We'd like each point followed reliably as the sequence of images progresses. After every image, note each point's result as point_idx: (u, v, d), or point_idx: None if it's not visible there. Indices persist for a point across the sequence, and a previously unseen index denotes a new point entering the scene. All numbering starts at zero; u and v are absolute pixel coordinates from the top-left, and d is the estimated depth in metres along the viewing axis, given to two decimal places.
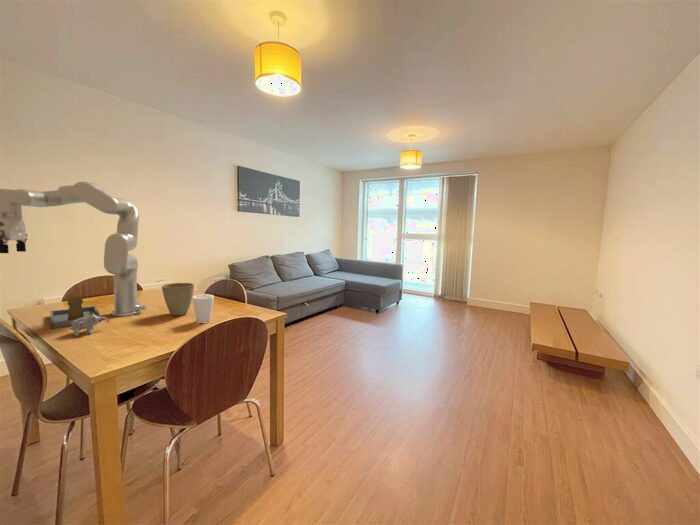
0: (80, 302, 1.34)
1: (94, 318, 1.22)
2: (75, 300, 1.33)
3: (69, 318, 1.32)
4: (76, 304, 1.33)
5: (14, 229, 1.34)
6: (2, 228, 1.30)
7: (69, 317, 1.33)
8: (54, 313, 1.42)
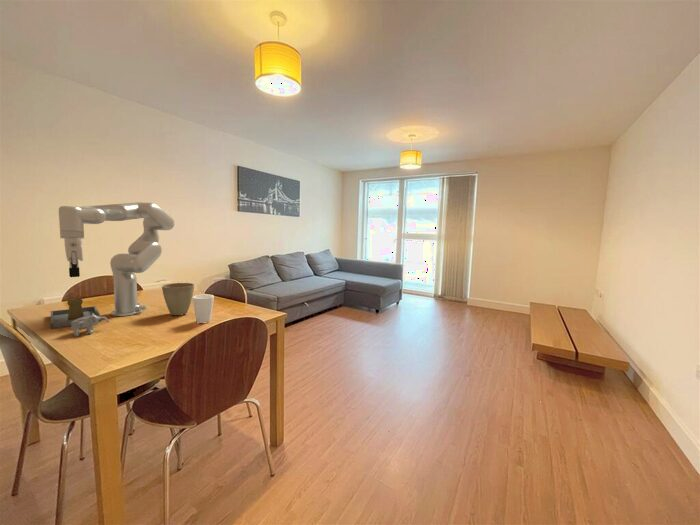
0: (80, 302, 1.34)
1: (94, 318, 1.22)
2: (75, 300, 1.33)
3: (69, 318, 1.32)
4: (76, 304, 1.33)
5: None
6: (74, 249, 1.22)
7: (69, 317, 1.33)
8: (54, 313, 1.42)
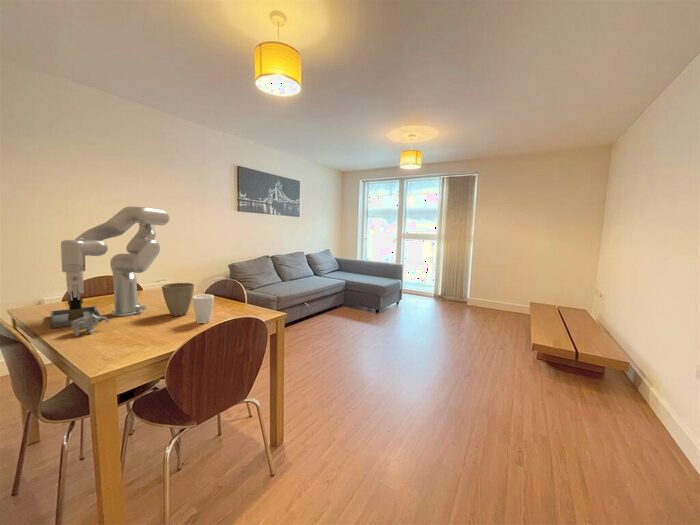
0: (80, 302, 1.34)
1: (94, 318, 1.22)
2: None
3: (69, 317, 1.32)
4: None
5: None
6: (75, 282, 1.23)
7: (69, 317, 1.33)
8: (54, 313, 1.42)
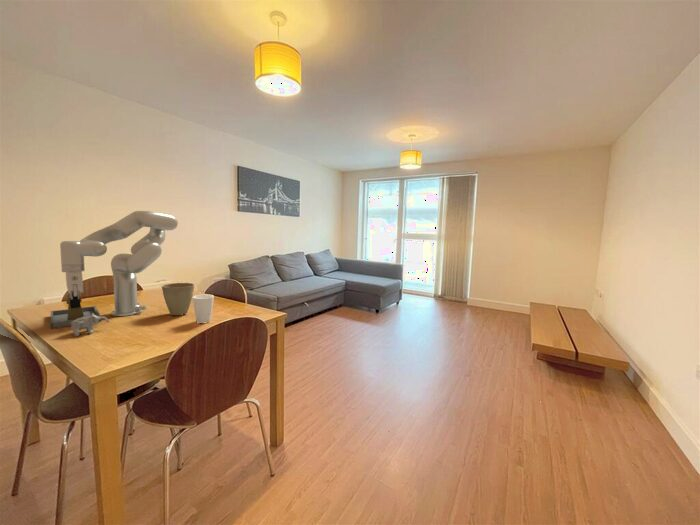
0: None
1: (94, 318, 1.22)
2: None
3: (69, 316, 1.33)
4: None
5: (82, 281, 1.31)
6: (75, 282, 1.28)
7: (69, 316, 1.33)
8: (54, 313, 1.42)
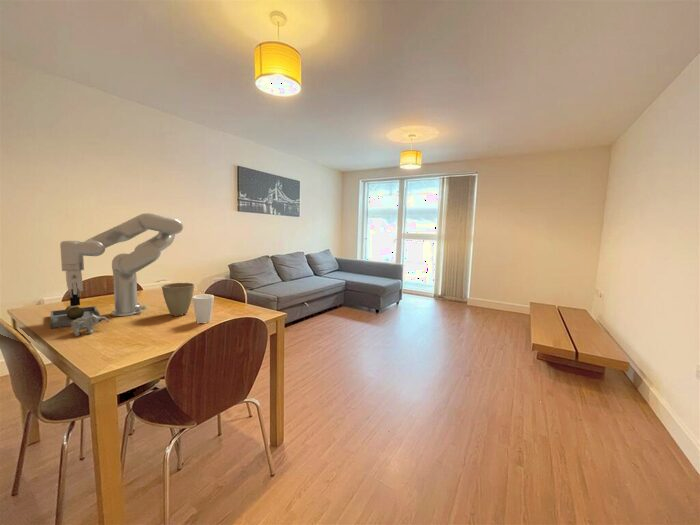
0: None
1: (94, 318, 1.22)
2: None
3: (68, 309, 1.37)
4: None
5: None
6: (75, 280, 1.32)
7: (68, 310, 1.37)
8: (54, 313, 1.42)
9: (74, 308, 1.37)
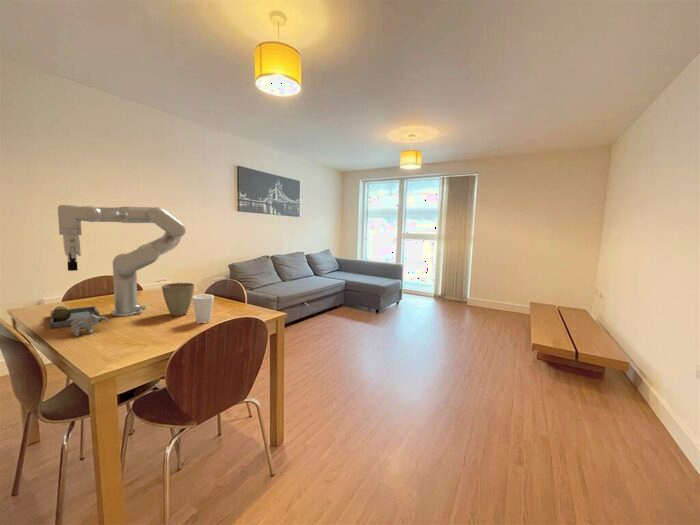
0: (55, 308, 1.38)
1: (94, 318, 1.22)
2: None
3: None
4: (53, 312, 1.38)
5: None
6: (73, 244, 1.32)
7: None
8: None
9: (54, 316, 1.32)
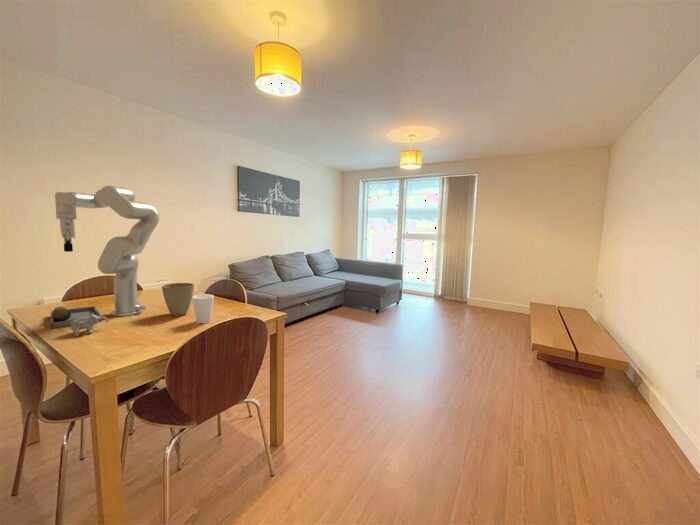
0: (55, 308, 1.38)
1: (94, 318, 1.22)
2: None
3: None
4: (53, 312, 1.38)
5: (74, 228, 1.51)
6: (68, 227, 1.47)
7: None
8: None
9: (54, 316, 1.32)
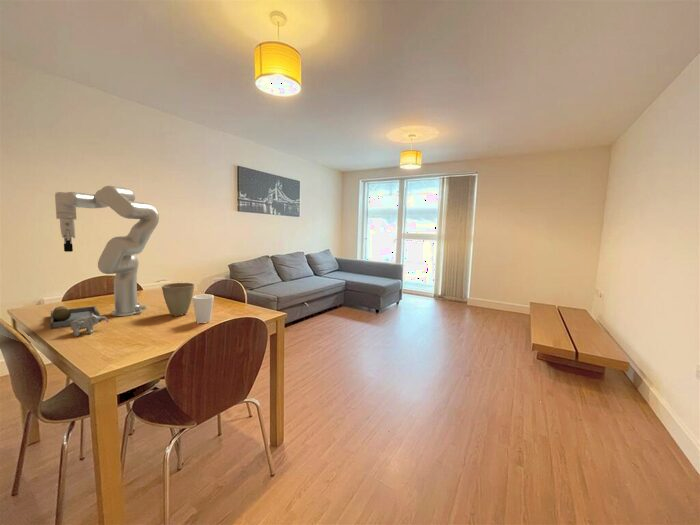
0: (55, 308, 1.38)
1: (94, 318, 1.22)
2: None
3: None
4: (53, 312, 1.38)
5: (74, 228, 1.51)
6: (68, 227, 1.47)
7: None
8: None
9: (54, 316, 1.32)
